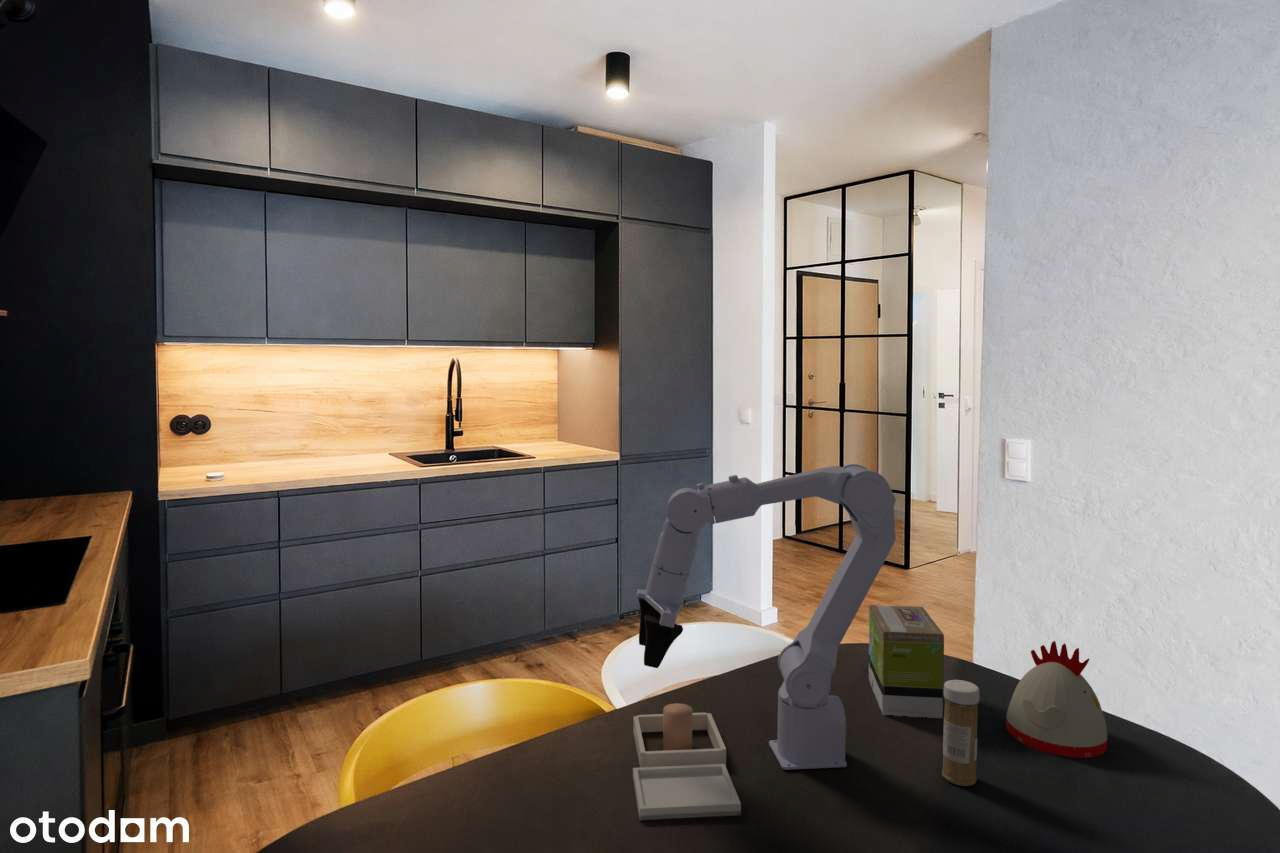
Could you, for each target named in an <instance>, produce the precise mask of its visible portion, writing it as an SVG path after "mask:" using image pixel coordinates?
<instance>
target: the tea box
mask: <svg viewBox="0 0 1280 853" xmlns="http://www.w3.org/2000/svg"><path fill="white" fill-rule="evenodd" d="M868 609H869V610H868V612H869V613H868V622H869V623H868V680H869V683H870V687H871V690H872V691H873V694H874V696H875V697H874V698H875V700H876V702H877V705H878V707H879V710H880V711H881V712H880V713H881V714H882V716H887V715H894V716H893V717H901V716H907V717H906V718H919V717H920V718H921V717H924V718H923V719H942V718H943V716H944V713H943V711H944V667H945V666H944V665H945V664H944V659H945V658H944V657H945V656H944V654H945V634H944V632H942V630H941V629H940V627H939V626H938V625H937V623H936V622H935V621H934V620H933V618H932V617H931V616H930V614H929V613H928V612H927V610H925V608H924V607H923V606H909V605H908V606H907V605H906V606H905V605H904V606H903V605H902V606H901V605H871V604H869V607H868ZM925 717H927V718H925ZM920 718H919V719H920ZM921 719H922V718H921Z"/></svg>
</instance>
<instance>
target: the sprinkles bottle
mask: <svg viewBox="0 0 1280 853" xmlns="http://www.w3.org/2000/svg"><path fill="white" fill-rule="evenodd" d="M943 700H944V709H943V711H944V713H943V736H942V754H943V755H942V756H943V757H942V758H943V760H942V770H941V776H942V777H943V778H944V780H946V781H947V782H949V783H951V784H953V785H957V786H962V787H969V786H974V785H975V784H976V782H977V779H978V777H977V760H978V758H977V757H978V737H977V736H978V708H979V707H978V705H979V702H980V689H979V687H978V685H976V684H974V683H973V682H970V681H968V680H960V679H949V680H946V681H945V682H943Z"/></svg>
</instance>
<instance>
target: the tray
mask: <svg viewBox="0 0 1280 853" xmlns="http://www.w3.org/2000/svg"><path fill="white" fill-rule="evenodd" d="M726 766H727V765H726ZM726 766H725V764H708V765H686V766H663V767H641V768H640V767H632V781H633V783H632V784H633V787H634V795H635V802H636V807H637V812H638V820H639V821H651V820H669V819H670V820H672V819H689V818H692V819H693V818H706V817H707V818H710V817H731V816H742V803H741V801H740V798H739V795H738V793H737V790H736V788H735V786H734V783H733V781H732V778H731V776H730V774H729V772H728V769H727V767H726Z"/></svg>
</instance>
